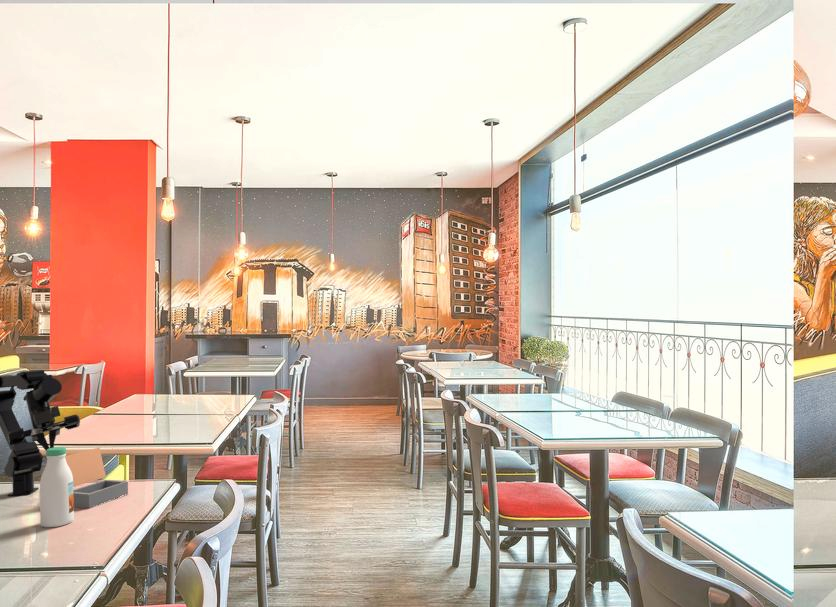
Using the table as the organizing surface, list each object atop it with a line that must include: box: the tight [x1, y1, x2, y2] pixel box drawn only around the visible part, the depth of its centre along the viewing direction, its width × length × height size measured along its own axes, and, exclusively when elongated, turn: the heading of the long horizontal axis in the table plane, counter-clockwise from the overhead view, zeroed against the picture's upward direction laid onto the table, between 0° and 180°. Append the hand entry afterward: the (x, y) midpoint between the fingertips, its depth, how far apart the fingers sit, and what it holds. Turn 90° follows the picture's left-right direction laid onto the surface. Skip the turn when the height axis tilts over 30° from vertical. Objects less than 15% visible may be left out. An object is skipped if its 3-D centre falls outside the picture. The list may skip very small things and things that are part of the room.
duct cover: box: [65, 446, 107, 488], centre depth 185 cm, size 10×14×1 cm
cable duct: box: [73, 479, 129, 509], centre depth 182 cm, size 9×14×4 cm, turn 160°
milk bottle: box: [39, 446, 75, 528], centre depth 162 cm, size 8×8×20 cm
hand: (51, 455), depth 184 cm, fingers closed
